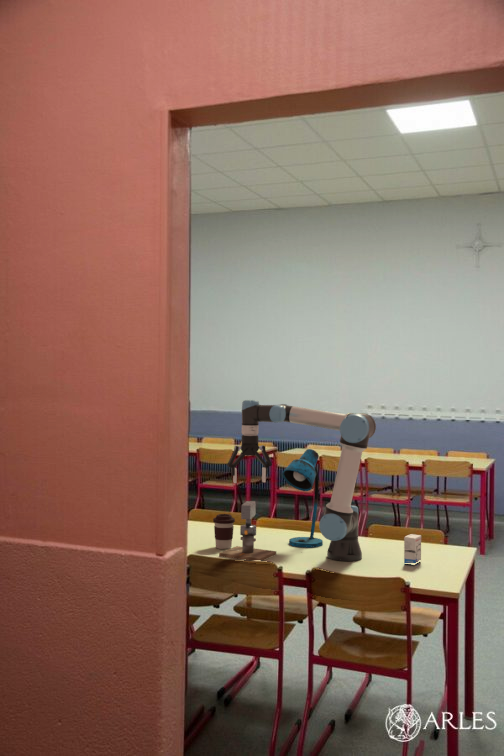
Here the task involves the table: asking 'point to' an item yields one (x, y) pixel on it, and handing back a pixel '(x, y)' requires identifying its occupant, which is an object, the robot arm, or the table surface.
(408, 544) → the ink box
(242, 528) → the twist cap
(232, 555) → the post base
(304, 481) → the desk lamp
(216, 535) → the coffee cup
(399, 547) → the table surface
